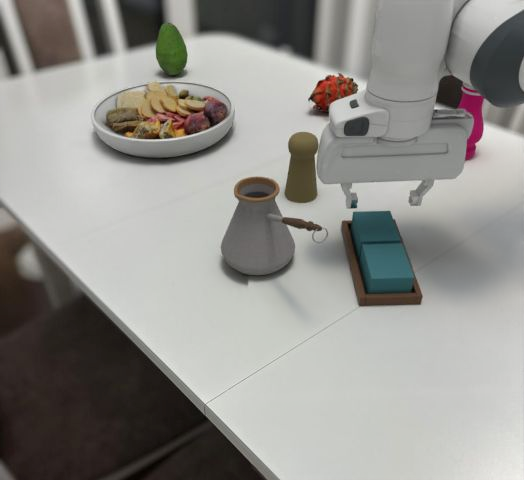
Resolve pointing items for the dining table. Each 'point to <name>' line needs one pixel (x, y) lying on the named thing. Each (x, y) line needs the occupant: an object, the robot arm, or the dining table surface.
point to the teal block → (385, 269)
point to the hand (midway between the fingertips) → (382, 205)
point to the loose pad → (373, 229)
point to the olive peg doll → (302, 168)
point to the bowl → (163, 118)
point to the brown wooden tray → (362, 297)
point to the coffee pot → (260, 229)
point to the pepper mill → (474, 106)
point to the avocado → (171, 50)
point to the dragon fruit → (332, 91)
